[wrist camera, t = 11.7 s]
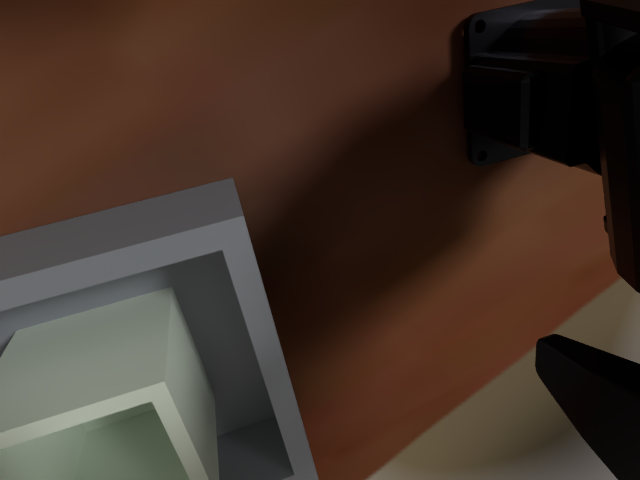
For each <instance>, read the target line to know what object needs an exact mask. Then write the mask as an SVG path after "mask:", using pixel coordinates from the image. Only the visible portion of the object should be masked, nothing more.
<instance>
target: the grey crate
mask: <svg viewBox="0 0 640 480" xmlns="http://www.w3.org/2000/svg"><path fill="white" fill-rule="evenodd" d="M169 287H173V290H174V292H175V295H176V297H177V300H178V303H179V305H180V308H181V310H182V313H183V315H184V318H185V320H186V323H187V325H188V328H189V331H190V333H191V336H192V338H193V341H194V343H195V346H196V348H197V351H198V353H199V356H200V358H201V361H202V364H203V366H204V369H205V371H206V374H207V376H208V379H209V381H210V384H211V386H212V389H213V391H214V398H215V415H216V432H217V449H218V466H219V480H319V479H318V476H317V472H316V469H315V465H314V461H313V458H312V454H311V451H310V447H309V444H308V440H307V436H306V433H305V429H304V426H303V422H302V419H301V415H300V412H299V408H298V405H297V401H296V397H295V394H294V390H293V387H292V383H291V380H290V376H289V373H288V369H287V366H286V362H285V359H284V355H283V352H282V348H281V345H280V341H279V338H278V334H277V331H276V327H275V324H274V320H273V317H272V313H271V310H270V306H269V303H268V299H267V296H266V292H265V288H264V285H263V281H262V278H261V274H260V271H259V267H258V264H257V260H256V257H255V253H254V250H253V246H252V243H251V239H250V236H249V232H248V229H247V225H246V222H245V218H244V215H243V211H242V208H241V204H240V201H239V197H238V194H237V190H236V186H235V183H234V179H233V178H229V179H225V180H221V181H217V182H213V183H209V184H205V185H201V186H197V187H193V188H190V189H186V190H182V191H178V192H174V193H170V194H166V195H162V196H158V197H154V198H150V199H146V200H142V201H138V202H135V203H131V204H127V205H123V206H119V207H115V208H111V209H107V210H103V211H99V212H95V213H91V214H87V215H83V216H80V217H76V218H72V219H68V220H64V221H60V222H56V223H52V224H48V225H44V226H40V227H36V228H32V229H28V230H25V231H21V232H17V233H13V234H9V235H5V236H1V237H0V357H1V355H2V354H3V352H4V350H5V349H6V347H7V345H8V344H9V342H10V340H11V339H12V337H13V335H14V334H15V332H16V331H17V330H20V329H24V328H27V327H31V326H34V325H38V324H42V323H45V322H49V321H52V320H56V319H59V318H63V317H66V316H70V315H73V314H77V313H80V312H84V311H88V310H91V309H95V308H98V307H102V306H105V305H109V304H112V303H116V302H119V301H123V300H126V299H130V298H133V297H137V296H141V295H144V294H148V293H151V292H155V291H158V290H162V289H165V288H169Z"/></svg>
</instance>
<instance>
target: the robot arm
mask: <svg viewBox="0 0 640 480" xmlns="http://www.w3.org/2000/svg"><path fill="white" fill-rule="evenodd" d="M477 21H479V22H480V29H479V31H478V32H476V31H475V28H474V27H475V24H476V22H477ZM464 50H465V70H464V71H463V102H464V127H465V129H466V130H467V147H468V159H469V161H470V162H471V163H472V164H474V165H477V166H485V165H488V164H492V163H496V162H499V161H503V160H507V159H510V158H514V157H518V156H521V155H525V154H529V153H532V154H535V155H538V156H541V157H544V158H546V159H549V160H552V161H555V162H558V163H561V164H563V165H566V166H569V167H573V166H574V167H577V168H580V169H583V170H586V171H589V172H592V173H594V174H597V175H600V176H602V181H603V191H604V200H605V209H606V215H605V216H604V218H603V219H604V228H605V231H606V232H607V233H608V236H609V246H610V255H611V257H612V260H613V263H614V265H615V268H616V271H617V273H618V274H619V275H620V276H621V277H622V278H623V279H624V280H625V281H626V282H627V283H628V284H629V285H630V286H632V287H633V288H634V289H635V290H636V291H637V292H639V293H640V0H534V1H529V2H524V3H520V4H515V5H511V6H506V7H502V8H497V9H492V10H488V11H483V12H479V13H474V14H472V15H470V16H469V17H468V18H467V20H466V22H465V24H464ZM480 151H482V156H481V157H480V158H479V159H478V158H477V156H478V153H479V152H480ZM535 367H536V371H537V374H538V376H539V377H540V379H541V380H542V382H543V383H544V385H545V386H546V387H547V389H548V390H549V392H550V393H551V395H552V396H553V397H554V399H555V400H556V402H557V403H558V404H559V406H560V407H561V409H562V410H563V412H564V413H565V414H566V416H567V417H568V419H569V420H570V421H571V423H572V424H573V426H574V427H575V429H576V430H577V431H578V432H579V434H580V435H581V437H582V438H583V439H584V440H585V441H586V443H587V444H588V445H589V446H590V447H591V449H592V450H593V451H594V452H595V453H596V454H597V456H598V457H599V458H600V459H601V460H602V461H603V463H604V464H605V465H606V466H607V467H608V468H609V470H610V471H611V472H612V473H613V474H614V476H615V477H616V478H617V479H618V480H640V364H638V363H636V362H633V361H630V360H627V359H625V358H622V357H619V356H616V355H614V354H611V353H608V352H605V351H602V350H600V349H597V348H594V347H591V346H589V345H585V344H583V343H580V342H578V341H575V340H572V339H569V338H566V337H563V336H561V335H558V334H551V335H548V336H545V337H543V338H540V339H538V341H537V344H536V361H535Z"/></svg>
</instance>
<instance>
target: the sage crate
mask: <svg viewBox="0 0 640 480" xmlns="http://www.w3.org/2000/svg"><path fill="white" fill-rule="evenodd" d="M0 480H219V466H218V449H217V432H216V415H215V398H214V391H213V389H212V386H211V384H210V381H209V379H208V376H207V374H206V371H205V369H204V366H203V364H202V361H201V358H200V356H199V353H198V351H197V348H196V346H195V343H194V341H193V338H192V336H191V333H190V331H189V328H188V325H187V323H186V320H185V318H184V315H183V313H182V310H181V308H180V305H179V303H178V300H177V297H176V295H175V292H174V290H173V287H169V288H165V289H162V290H158V291H155V292H151V293H148V294H144V295H141V296H137V297H133V298H130V299H126V300H123V301H119V302H116V303H112V304H109V305H105V306H102V307H98V308H95V309H91V310H88V311H84V312H80V313H77V314H73V315H70V316H66V317H63V318H59V319H56V320H52V321H49V322H45V323H42V324H38V325H34V326H31V327H27V328H24V329H20V330H17V331H16V332H15V334H14V335H13V337H12V339H11V340H10V342H9V344H8V345H7V347H6V349H5V350H4V352H3V354H2V355H1V357H0Z"/></svg>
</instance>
